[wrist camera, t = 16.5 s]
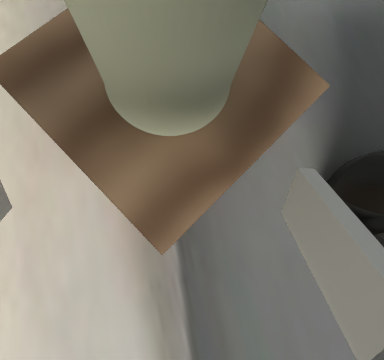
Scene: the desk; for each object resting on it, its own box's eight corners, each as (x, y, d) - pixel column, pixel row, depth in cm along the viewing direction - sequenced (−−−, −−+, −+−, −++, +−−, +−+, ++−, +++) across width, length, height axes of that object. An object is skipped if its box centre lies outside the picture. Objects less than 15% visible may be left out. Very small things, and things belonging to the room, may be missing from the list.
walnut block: (283, 125, 27) (330, 85, 19) (165, 244, 24) (162, 255, 16) (170, 16, 28) (170, -64, 20) (43, 115, 25) (-17, 66, 17)
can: (97, 28, 18) (-37, -329, 6) (217, 18, 19) (290, -306, 7) (112, 145, 17) (-26, -36, 5) (241, 127, 18) (377, -57, 6)
